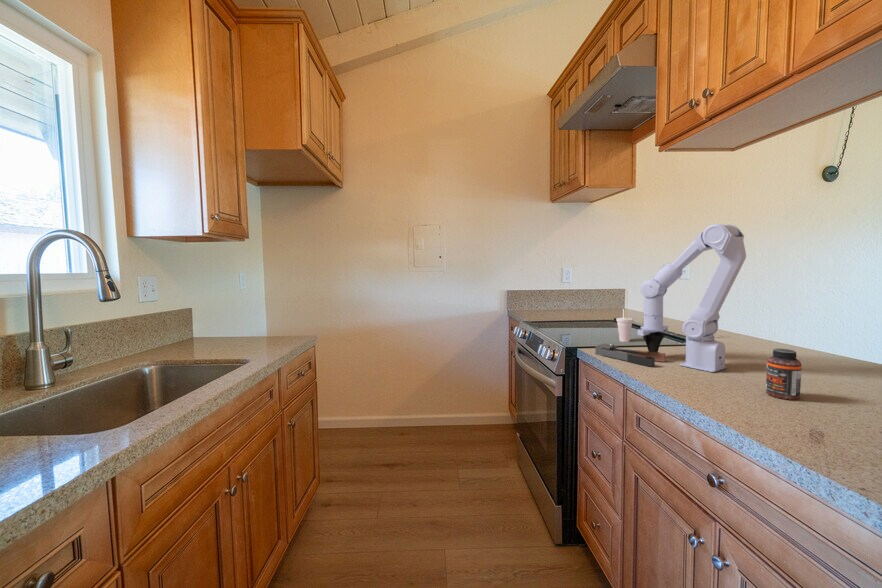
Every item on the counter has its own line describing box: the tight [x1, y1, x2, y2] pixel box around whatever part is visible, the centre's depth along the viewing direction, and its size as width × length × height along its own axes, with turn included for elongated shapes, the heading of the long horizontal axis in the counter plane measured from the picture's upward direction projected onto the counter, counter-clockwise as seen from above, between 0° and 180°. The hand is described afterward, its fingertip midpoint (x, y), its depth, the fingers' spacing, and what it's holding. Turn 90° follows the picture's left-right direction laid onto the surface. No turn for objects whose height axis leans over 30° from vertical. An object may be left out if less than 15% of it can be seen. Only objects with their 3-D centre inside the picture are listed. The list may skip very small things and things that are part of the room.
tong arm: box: [612, 347, 666, 363], centre depth 121 cm, size 18×3×2 cm, turn 50°
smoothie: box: [615, 308, 634, 343], centre depth 148 cm, size 6×6×14 cm
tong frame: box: [594, 343, 656, 368], centre depth 120 cm, size 21×5×4 cm, turn 28°
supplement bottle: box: [765, 348, 803, 401], centre depth 83 cm, size 6×6×11 cm
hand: (653, 353), depth 121 cm, fingers closed
